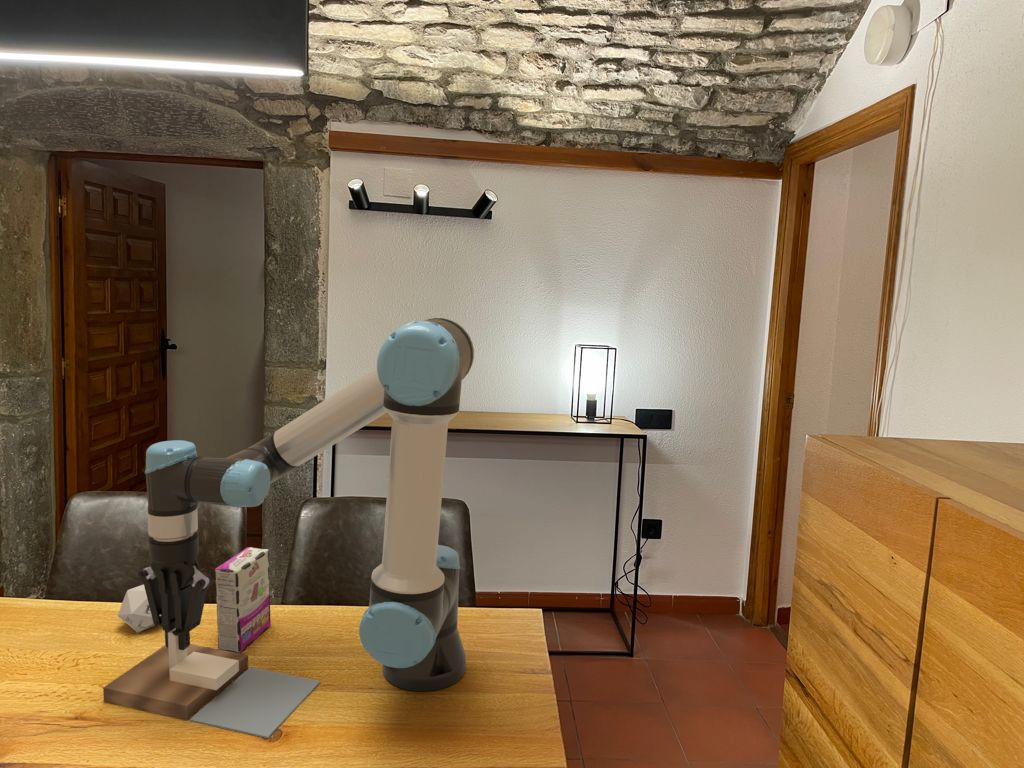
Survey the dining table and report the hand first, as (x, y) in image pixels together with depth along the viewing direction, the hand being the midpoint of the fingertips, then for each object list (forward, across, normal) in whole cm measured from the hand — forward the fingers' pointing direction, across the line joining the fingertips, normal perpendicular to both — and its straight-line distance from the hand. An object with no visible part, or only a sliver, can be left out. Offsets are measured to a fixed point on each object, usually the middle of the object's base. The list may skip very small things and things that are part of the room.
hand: (178, 664), depth 122 cm
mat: (+4, -16, 0) cm, 16 cm away
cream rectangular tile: (+1, -5, 0) cm, 5 cm away
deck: (+4, 0, 0) cm, 4 cm away
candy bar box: (+4, -1, -17) cm, 17 cm away
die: (+4, +20, -15) cm, 25 cm away
